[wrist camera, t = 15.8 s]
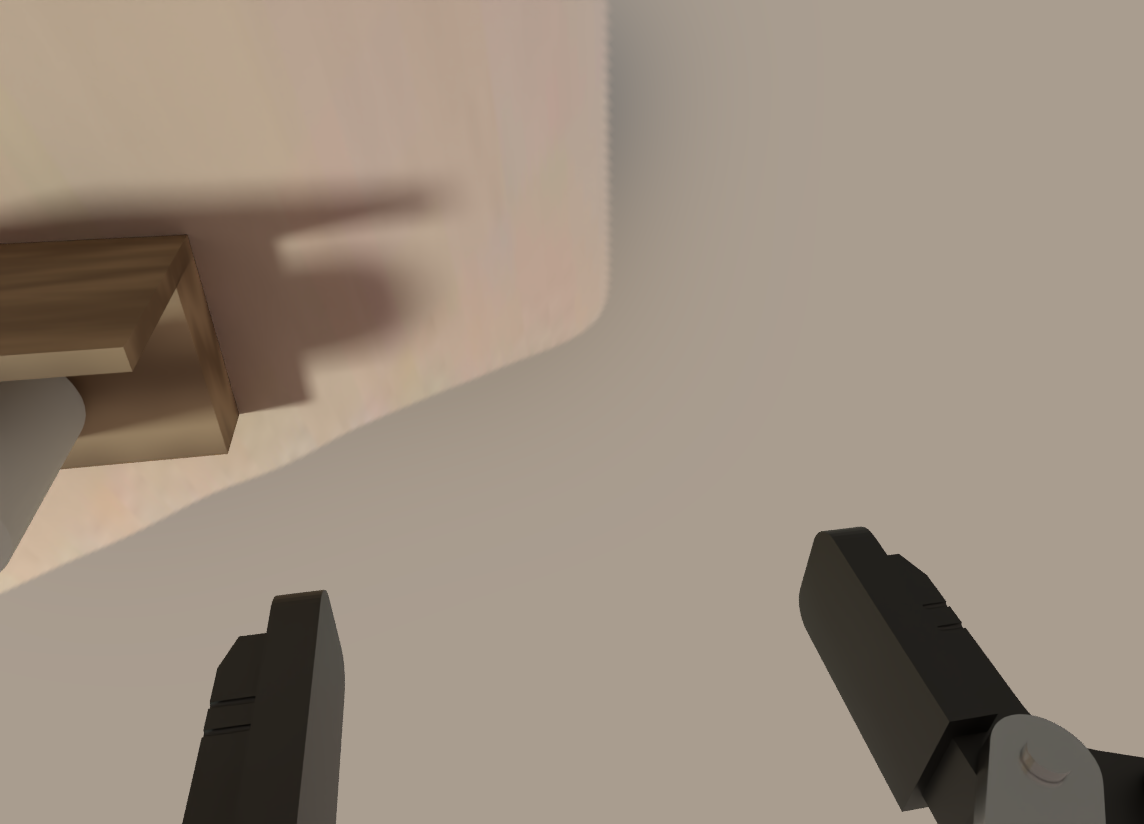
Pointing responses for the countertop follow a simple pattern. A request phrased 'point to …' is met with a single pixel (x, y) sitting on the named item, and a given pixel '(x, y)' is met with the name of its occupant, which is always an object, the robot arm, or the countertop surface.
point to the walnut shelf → (119, 344)
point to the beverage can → (32, 448)
